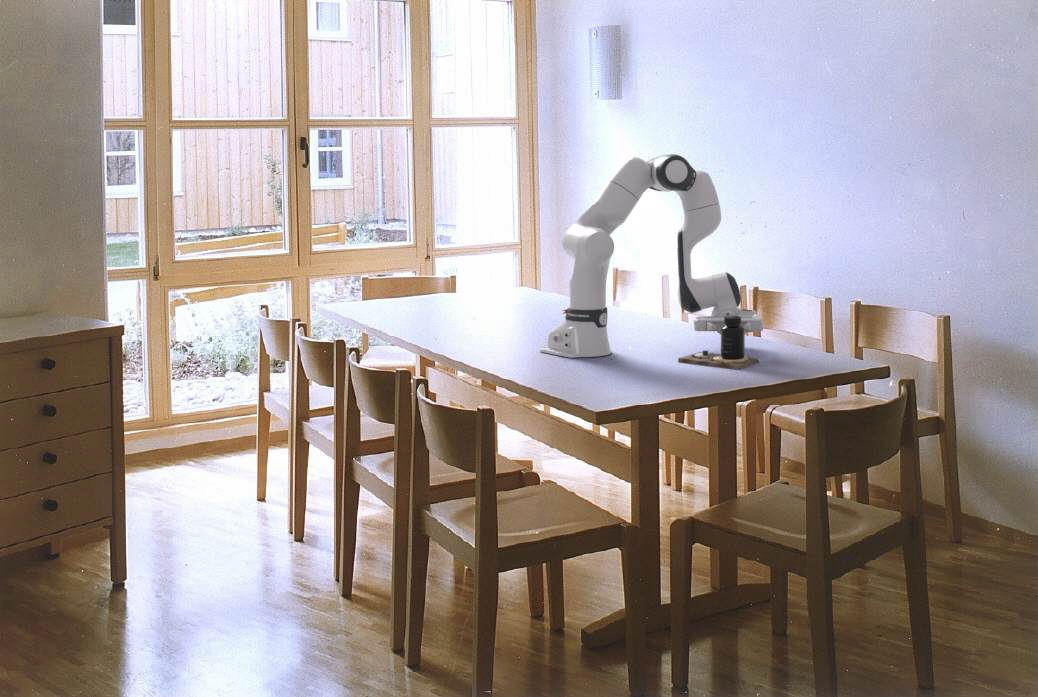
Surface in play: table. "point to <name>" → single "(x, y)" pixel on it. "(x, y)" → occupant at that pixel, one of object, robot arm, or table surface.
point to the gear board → (717, 360)
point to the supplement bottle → (732, 339)
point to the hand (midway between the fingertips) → (729, 328)
